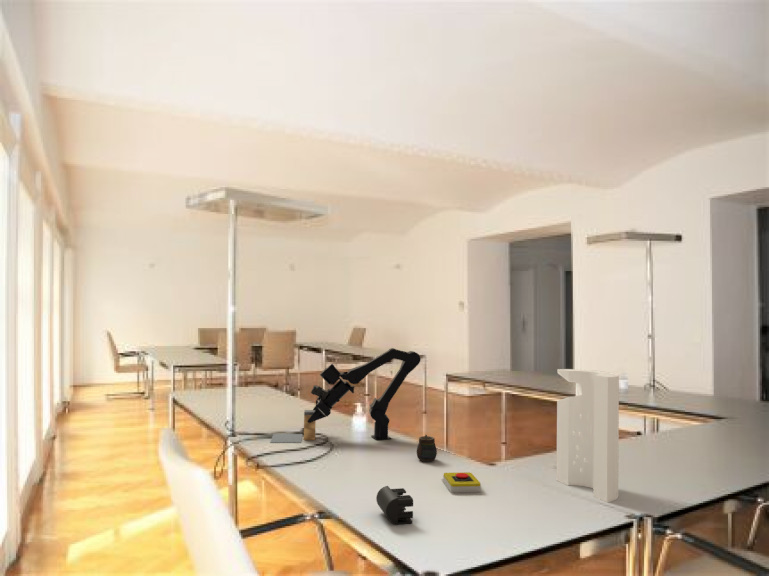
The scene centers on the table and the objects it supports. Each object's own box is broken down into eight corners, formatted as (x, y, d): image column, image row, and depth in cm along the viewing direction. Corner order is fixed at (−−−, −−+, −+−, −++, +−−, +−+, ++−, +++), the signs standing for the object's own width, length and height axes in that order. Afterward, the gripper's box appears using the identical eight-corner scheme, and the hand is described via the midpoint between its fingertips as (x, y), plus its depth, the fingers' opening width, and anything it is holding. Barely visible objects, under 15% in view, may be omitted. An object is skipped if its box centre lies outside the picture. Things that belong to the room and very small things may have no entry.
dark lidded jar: (435, 457, 200) (436, 429, 201) (438, 463, 193) (438, 434, 193) (415, 457, 200) (416, 429, 201) (417, 463, 193) (418, 434, 193)
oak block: (315, 437, 228) (315, 410, 229) (314, 439, 224) (315, 412, 224) (304, 437, 228) (304, 410, 228) (303, 439, 223) (304, 412, 224)
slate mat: (302, 434, 232) (302, 434, 232) (301, 442, 219) (301, 442, 219) (273, 434, 231) (273, 434, 231) (270, 442, 217) (270, 442, 217)
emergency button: (452, 481, 161) (440, 466, 175) (451, 497, 160) (440, 480, 175) (483, 481, 162) (469, 466, 176) (483, 496, 161) (469, 480, 176)
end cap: (375, 512, 146) (376, 486, 146) (401, 510, 148) (402, 484, 148) (385, 527, 136) (386, 499, 136) (413, 524, 138) (413, 497, 138)
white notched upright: (604, 502, 157) (554, 480, 176) (634, 497, 161) (582, 477, 180) (605, 377, 158) (555, 369, 177) (635, 376, 162) (583, 368, 182)
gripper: (323, 375, 236) (295, 401, 235) (322, 381, 218) (293, 409, 216) (341, 394, 237) (314, 420, 235) (342, 402, 218) (313, 430, 217)
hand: (308, 419), depth 226 cm, fingers open, 9 cm apart
